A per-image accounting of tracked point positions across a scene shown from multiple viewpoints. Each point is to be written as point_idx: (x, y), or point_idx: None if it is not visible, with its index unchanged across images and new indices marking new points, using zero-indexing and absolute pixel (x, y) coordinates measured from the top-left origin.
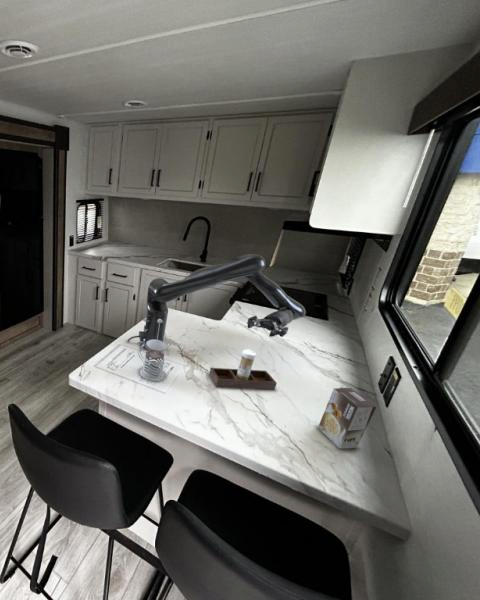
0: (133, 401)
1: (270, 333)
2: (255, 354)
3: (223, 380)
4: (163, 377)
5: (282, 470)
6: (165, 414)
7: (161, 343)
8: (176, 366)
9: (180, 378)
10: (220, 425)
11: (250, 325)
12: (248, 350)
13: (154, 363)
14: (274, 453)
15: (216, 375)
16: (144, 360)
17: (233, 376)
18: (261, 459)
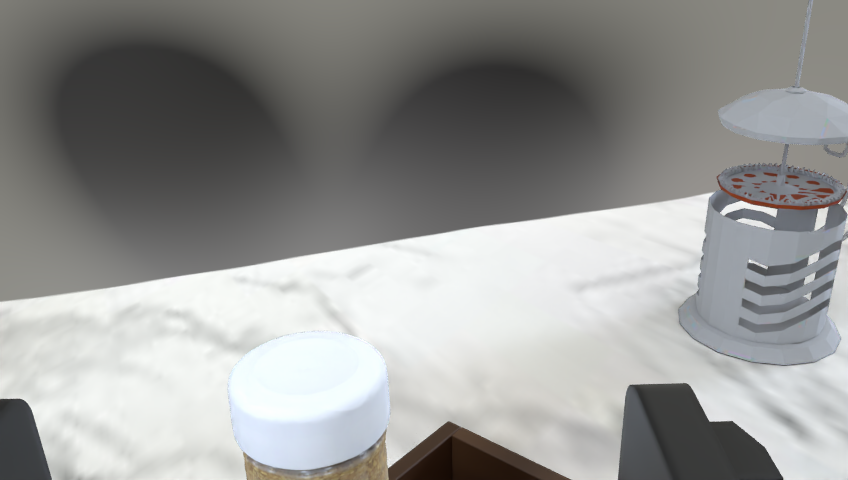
0: (590, 216)
1: (19, 430)
2: (229, 380)
3: (418, 446)
4: (696, 337)
5: (2, 302)
6: (465, 239)
7: (768, 99)
8: (807, 458)
9: None
10: (271, 307)
11: (632, 442)
12: (331, 383)
13: (717, 199)
14: (28, 333)
15: (490, 447)
16: (793, 218)
17: None
18: (81, 294)
